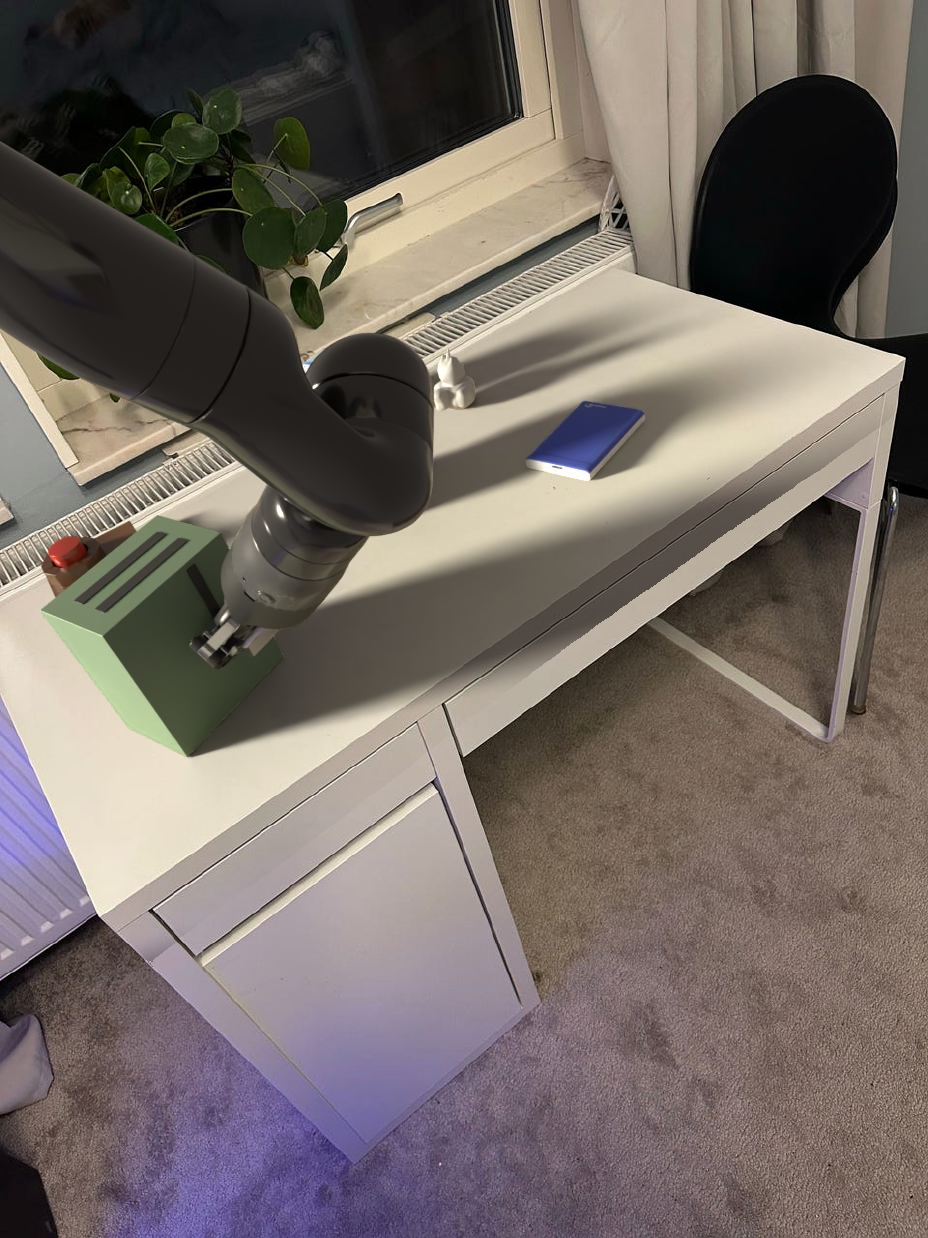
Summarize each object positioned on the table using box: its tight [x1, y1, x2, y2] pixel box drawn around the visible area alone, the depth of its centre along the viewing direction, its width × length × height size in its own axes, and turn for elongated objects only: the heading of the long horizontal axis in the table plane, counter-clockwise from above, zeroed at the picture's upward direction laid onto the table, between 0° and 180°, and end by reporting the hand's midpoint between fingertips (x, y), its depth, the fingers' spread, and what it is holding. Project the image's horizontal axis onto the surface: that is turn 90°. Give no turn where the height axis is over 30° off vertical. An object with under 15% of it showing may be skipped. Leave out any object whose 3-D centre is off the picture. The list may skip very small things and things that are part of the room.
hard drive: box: [525, 400, 646, 482], centre depth 95 cm, size 2×8×12 cm
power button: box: [47, 535, 87, 568], centre depth 94 cm, size 4×4×2 cm
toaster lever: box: [204, 609, 281, 656], centre depth 71 cm, size 4×5×2 cm
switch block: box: [40, 520, 138, 598], centre depth 96 cm, size 11×9×4 cm
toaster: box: [39, 514, 285, 758], centre depth 74 cm, size 13×9×15 cm, turn 148°
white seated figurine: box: [433, 347, 476, 412], centre depth 105 cm, size 5×7×8 cm
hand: (235, 637), depth 73 cm, fingers closed on toaster lever, 3 cm apart
